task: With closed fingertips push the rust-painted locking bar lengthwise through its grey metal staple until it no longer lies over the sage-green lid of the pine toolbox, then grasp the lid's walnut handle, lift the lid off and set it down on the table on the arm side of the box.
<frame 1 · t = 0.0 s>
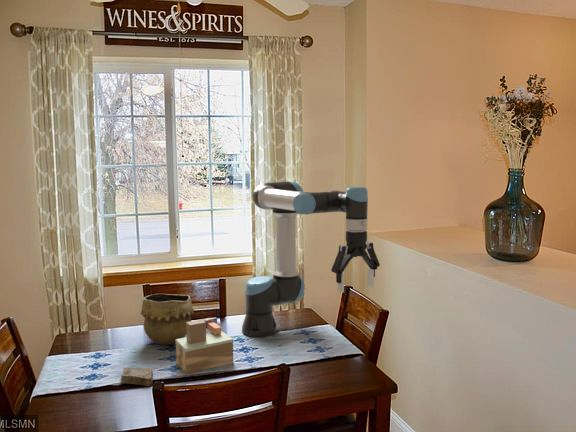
hand: (355, 289, 177), 28 cm above the table, fingers open, 13 cm apart
toolbox: (204, 362, 182), on the table
lid: (204, 341, 181), point 8 cm above the table, touching toolbox
stone: (137, 380, 169), on the table
key bar: (212, 326, 190), point 11 cm above the table, slide at 0.0 cm
clay pot: (168, 343, 202), on the table
staple: (210, 351, 193), on the table
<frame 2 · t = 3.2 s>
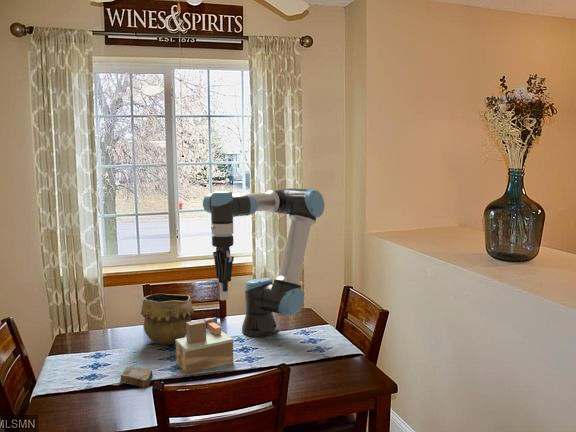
hand: (223, 299, 178), 24 cm above the table, fingers closed
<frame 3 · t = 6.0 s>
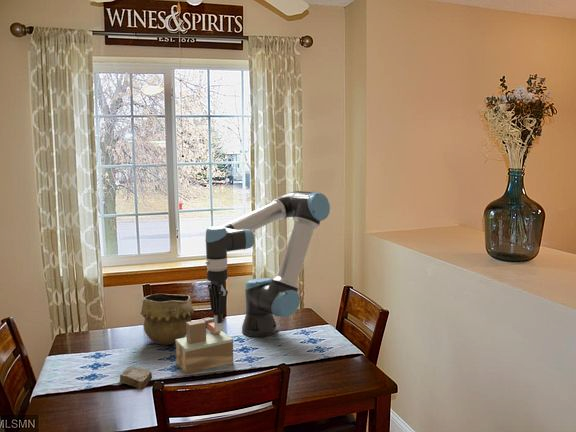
hand: (218, 330, 185), 11 cm above the table, fingers closed
key bar: (211, 326, 190), point 11 cm above the table, slide at 0.8 cm, touching gripper
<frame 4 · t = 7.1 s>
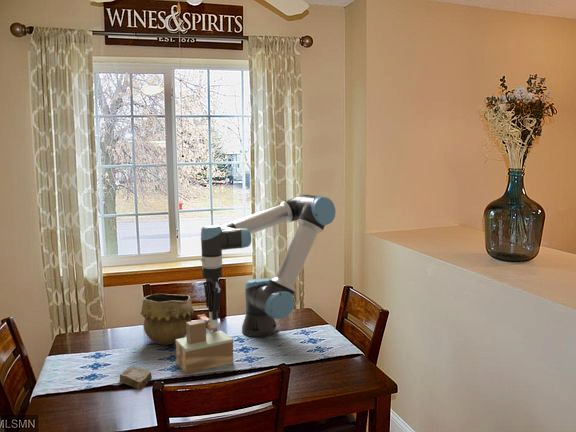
hand: (213, 327, 188), 11 cm above the table, fingers closed
key bar: (206, 322, 194), point 11 cm above the table, slide at 5.3 cm, touching gripper
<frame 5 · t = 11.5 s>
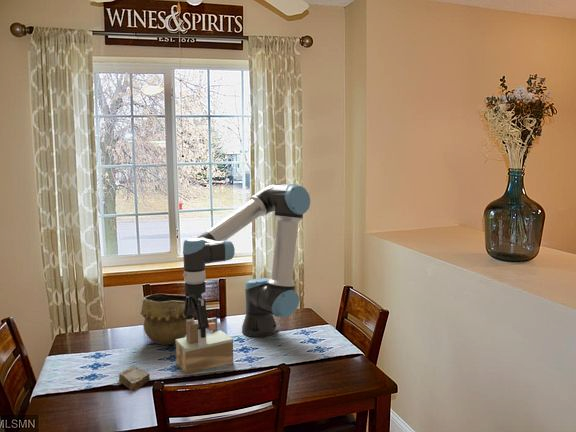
hand: (196, 340, 179), 9 cm above the table, fingers closed on lid, 11 cm apart
lid: (204, 341, 181), point 8 cm above the table, touching gripper, toolbox
key bar: (206, 322, 194), point 11 cm above the table, slide at 5.4 cm
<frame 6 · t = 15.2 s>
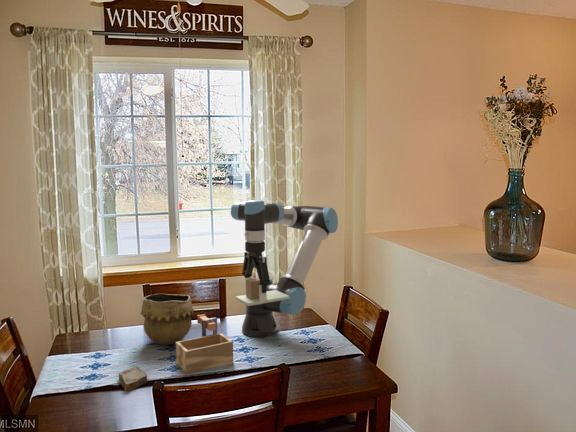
hand: (255, 297, 189), 22 cm above the table, fingers closed on lid, 11 cm apart
lid: (262, 298, 191), point 21 cm above the table, touching gripper
when the fingers open (3 cm above the table, at t = 19.1 s): lid drops 2 cm, on the table.
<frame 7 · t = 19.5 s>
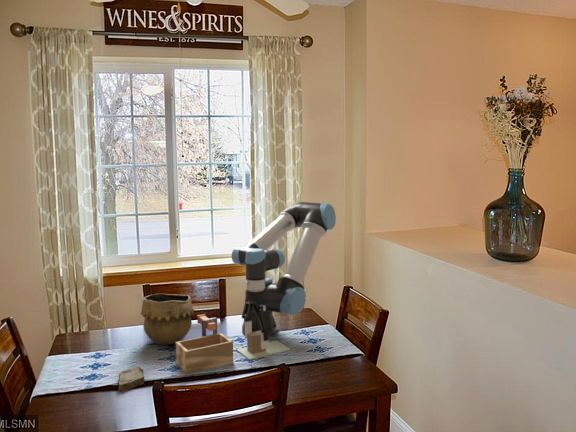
hand: (256, 342, 191), 4 cm above the table, fingers open, 13 cm apart
lid: (263, 351, 193), on the table
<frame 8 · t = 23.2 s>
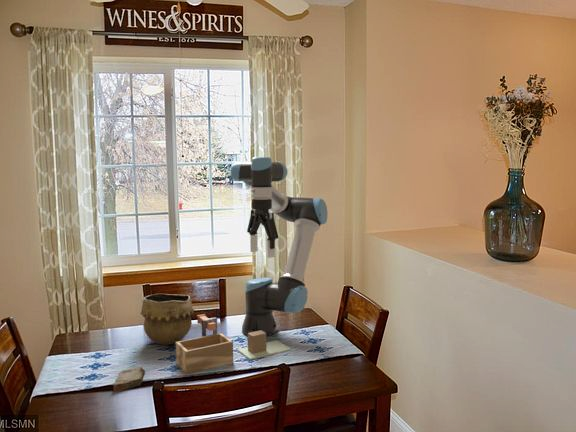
hand: (262, 254, 187), 39 cm above the table, fingers open, 13 cm apart
at the end: key bar slide at 5.4 cm; lid inside the target area (3.3 cm from its centre), on the table; lid tilted 0° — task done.
